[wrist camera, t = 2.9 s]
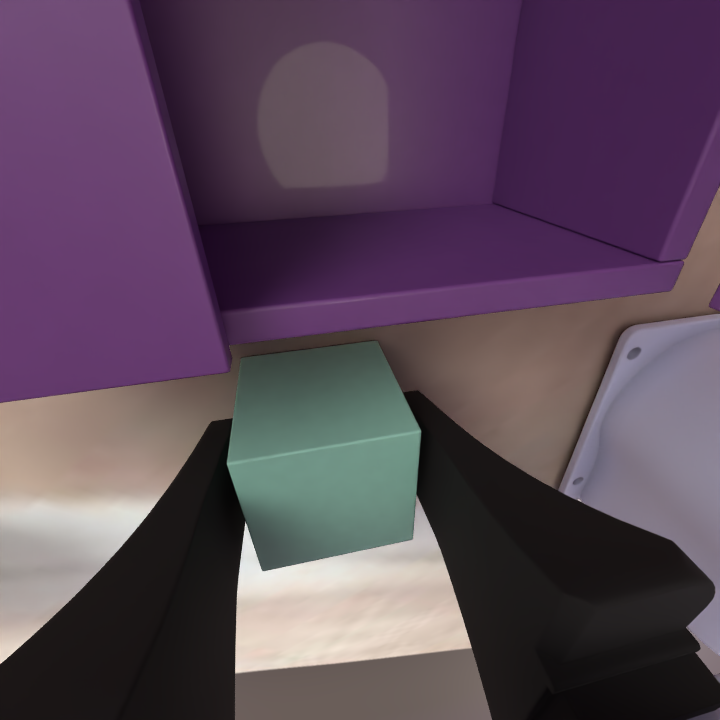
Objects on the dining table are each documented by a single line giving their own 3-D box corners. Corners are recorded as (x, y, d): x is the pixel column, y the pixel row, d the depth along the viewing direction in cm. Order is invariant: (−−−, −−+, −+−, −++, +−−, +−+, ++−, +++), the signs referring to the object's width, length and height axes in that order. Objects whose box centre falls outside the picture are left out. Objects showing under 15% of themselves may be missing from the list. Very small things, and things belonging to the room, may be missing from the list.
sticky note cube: (378, 436, 14) (413, 540, 10) (264, 455, 13) (261, 572, 10) (377, 339, 12) (422, 431, 8) (240, 356, 11) (225, 464, 8)
